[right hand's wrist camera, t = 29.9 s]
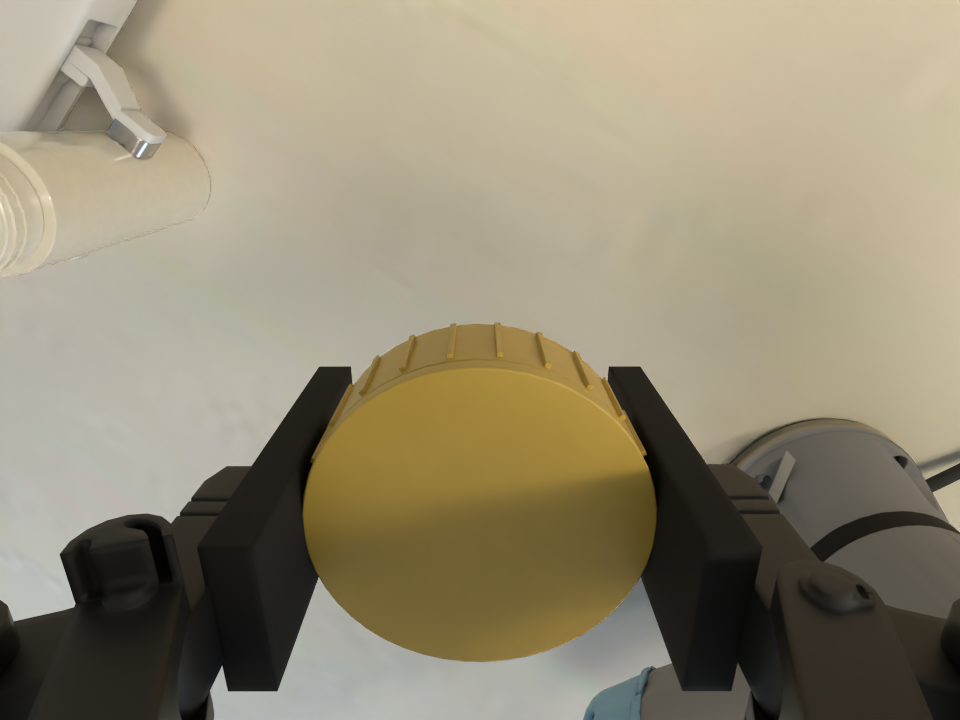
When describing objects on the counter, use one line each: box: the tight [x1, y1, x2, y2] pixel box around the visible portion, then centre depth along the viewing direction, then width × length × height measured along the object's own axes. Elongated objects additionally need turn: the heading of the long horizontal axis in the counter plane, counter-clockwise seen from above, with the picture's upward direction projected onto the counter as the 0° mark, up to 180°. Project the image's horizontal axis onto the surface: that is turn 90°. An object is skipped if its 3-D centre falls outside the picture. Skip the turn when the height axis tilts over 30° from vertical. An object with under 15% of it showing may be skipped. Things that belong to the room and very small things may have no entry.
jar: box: [0, 130, 210, 277], centre depth 29 cm, size 6×6×16 cm
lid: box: [302, 322, 657, 662], centre depth 11 cm, size 6×6×2 cm
